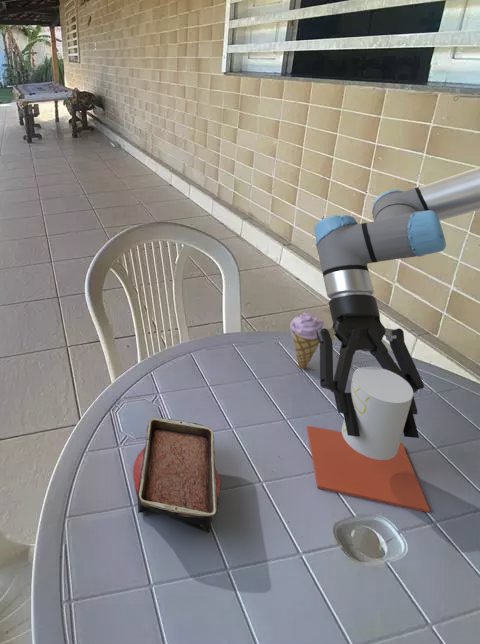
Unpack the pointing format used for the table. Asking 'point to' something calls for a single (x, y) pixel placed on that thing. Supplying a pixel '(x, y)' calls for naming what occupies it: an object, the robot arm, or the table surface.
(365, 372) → the cup
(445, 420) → the table surface
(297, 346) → the ice cream cone
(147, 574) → the table surface
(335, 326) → the robot arm
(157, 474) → the baking dish
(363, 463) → the mat
